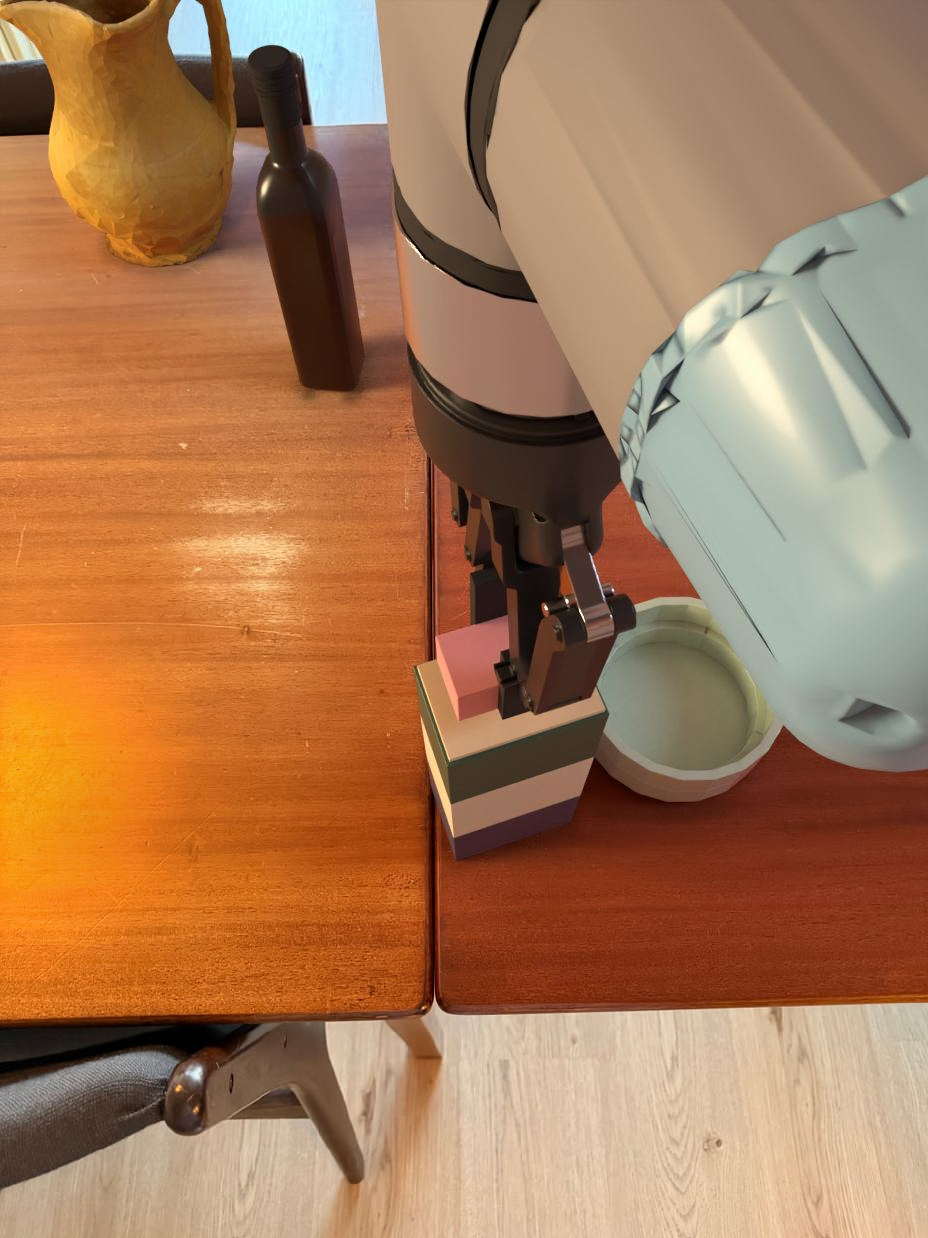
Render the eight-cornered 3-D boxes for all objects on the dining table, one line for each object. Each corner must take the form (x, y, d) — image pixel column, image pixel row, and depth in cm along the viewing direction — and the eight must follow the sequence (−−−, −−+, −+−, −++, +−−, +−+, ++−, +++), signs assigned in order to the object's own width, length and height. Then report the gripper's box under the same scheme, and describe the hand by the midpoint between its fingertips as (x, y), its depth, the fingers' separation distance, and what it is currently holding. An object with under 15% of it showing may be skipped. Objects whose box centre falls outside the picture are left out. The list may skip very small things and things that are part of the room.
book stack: (570, 822, 67) (610, 714, 47) (455, 861, 66) (446, 767, 46) (542, 749, 70) (567, 618, 50) (430, 785, 68) (412, 665, 49)
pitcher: (99, 168, 101) (6, -86, 78) (266, 179, 101) (222, -71, 79) (64, 282, 93) (-51, 38, 71) (244, 293, 94) (188, 54, 71)
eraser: (458, 722, 45) (457, 699, 42) (437, 661, 46) (434, 635, 44) (589, 680, 46) (596, 655, 43) (564, 622, 47) (569, 595, 45)
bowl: (796, 769, 69) (823, 742, 63) (621, 829, 67) (633, 807, 61) (713, 610, 75) (731, 574, 70) (550, 661, 73) (556, 628, 68)
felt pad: (604, 712, 47) (605, 709, 47) (449, 762, 46) (449, 760, 46) (565, 622, 50) (566, 618, 50) (417, 668, 49) (417, 665, 48)
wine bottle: (297, 389, 86) (217, 79, 60) (310, 345, 89) (238, 28, 62) (356, 395, 86) (301, 85, 59) (367, 350, 88) (319, 34, 62)
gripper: (806, 525, 22) (644, 796, 43) (558, 117, 29) (524, 520, 50) (515, 613, 21) (495, 847, 42) (333, 168, 28) (394, 557, 49)
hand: (511, 668), depth 46 cm, fingers closed on eraser, 3 cm apart
